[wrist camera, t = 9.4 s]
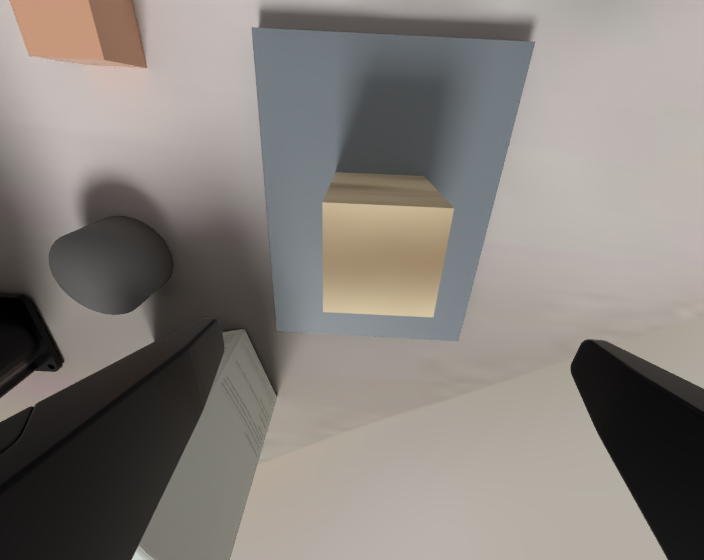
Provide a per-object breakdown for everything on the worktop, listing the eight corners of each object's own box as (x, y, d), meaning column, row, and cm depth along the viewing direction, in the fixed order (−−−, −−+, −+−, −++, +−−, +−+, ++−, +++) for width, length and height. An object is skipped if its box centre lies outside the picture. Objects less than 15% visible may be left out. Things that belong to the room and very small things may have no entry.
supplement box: (151, 341, 23) (-45, 556, 12) (247, 325, 22) (131, 543, 11) (195, 410, 26) (73, 628, 15) (279, 399, 26) (216, 623, 14)
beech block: (412, 257, 18) (433, 317, 13) (334, 253, 18) (323, 312, 13) (424, 176, 16) (454, 208, 11) (335, 172, 16) (322, 202, 11)
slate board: (454, 331, 22) (458, 341, 21) (280, 322, 22) (276, 331, 21) (524, 45, 14) (535, 41, 13) (258, 32, 14) (251, 27, 13)
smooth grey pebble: (181, 291, 21) (155, 317, 18) (106, 286, 21) (69, 312, 19) (163, 217, 19) (130, 235, 16) (79, 213, 19) (32, 230, 16)
